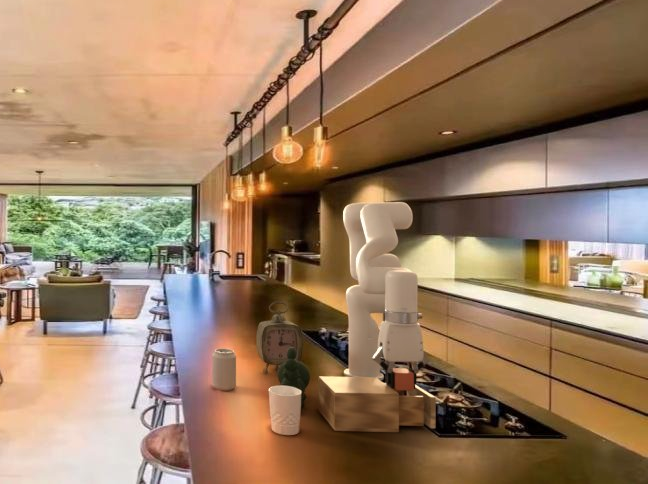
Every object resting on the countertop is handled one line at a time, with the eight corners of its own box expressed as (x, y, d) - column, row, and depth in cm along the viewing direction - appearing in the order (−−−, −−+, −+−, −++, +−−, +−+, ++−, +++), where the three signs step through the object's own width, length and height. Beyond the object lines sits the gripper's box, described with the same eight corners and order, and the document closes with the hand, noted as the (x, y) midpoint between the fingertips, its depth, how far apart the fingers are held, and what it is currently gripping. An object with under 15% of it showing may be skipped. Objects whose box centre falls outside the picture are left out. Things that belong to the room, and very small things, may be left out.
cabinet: (375, 411, 132) (375, 377, 132) (398, 432, 119) (398, 393, 119) (318, 410, 133) (318, 376, 133) (334, 430, 120) (334, 392, 120)
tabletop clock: (261, 375, 167) (261, 303, 167) (255, 367, 176) (255, 299, 176) (302, 375, 167) (302, 303, 167) (294, 367, 176) (294, 299, 176)
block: (405, 385, 128) (405, 368, 128) (413, 390, 123) (413, 373, 123) (388, 384, 128) (388, 367, 128) (395, 390, 124) (396, 372, 123)
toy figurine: (309, 424, 128) (310, 387, 151) (309, 355, 126) (310, 329, 149) (272, 420, 131) (279, 384, 154) (272, 352, 129) (279, 327, 153)
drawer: (426, 410, 131) (426, 382, 131) (453, 428, 119) (453, 397, 119) (357, 409, 132) (357, 380, 132) (376, 427, 120) (376, 396, 120)
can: (235, 384, 157) (235, 347, 157) (237, 391, 149) (237, 353, 149) (212, 383, 157) (212, 347, 157) (212, 391, 150) (212, 352, 150)
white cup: (301, 426, 123) (301, 387, 123) (301, 438, 115) (301, 397, 115) (270, 422, 125) (270, 384, 125) (267, 434, 118) (267, 393, 118)
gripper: (426, 315, 129) (426, 383, 129) (362, 314, 130) (362, 381, 130) (442, 320, 121) (441, 392, 121) (373, 320, 122) (373, 391, 122)
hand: (400, 386), depth 126 cm, fingers closed on block, 4 cm apart
